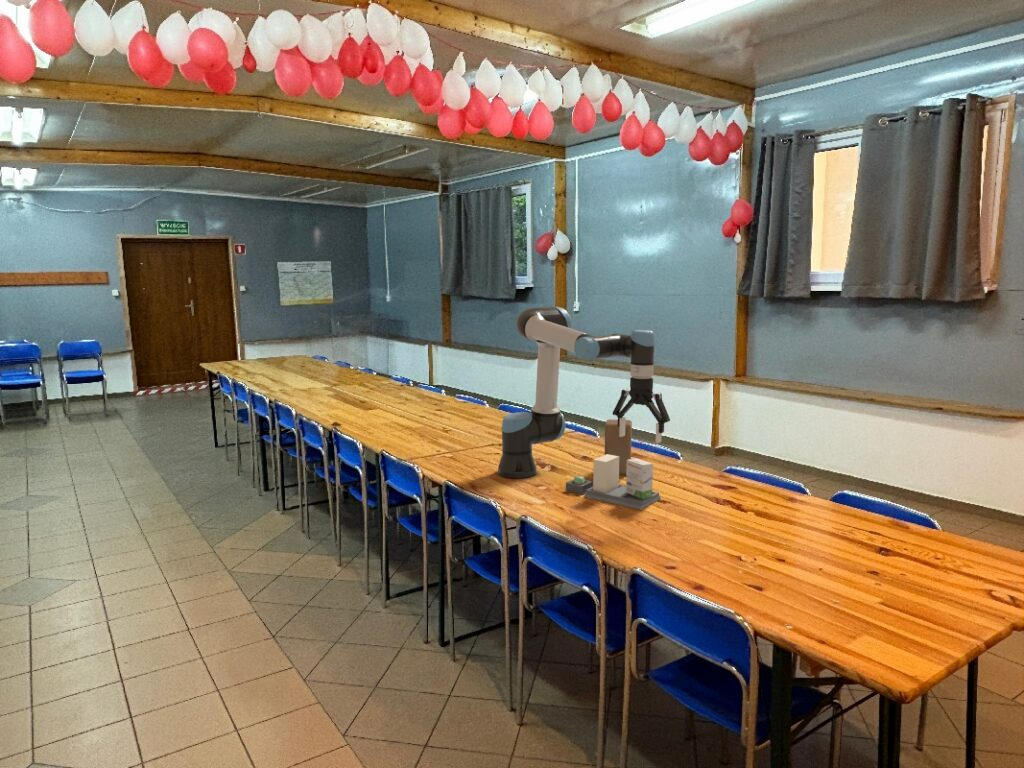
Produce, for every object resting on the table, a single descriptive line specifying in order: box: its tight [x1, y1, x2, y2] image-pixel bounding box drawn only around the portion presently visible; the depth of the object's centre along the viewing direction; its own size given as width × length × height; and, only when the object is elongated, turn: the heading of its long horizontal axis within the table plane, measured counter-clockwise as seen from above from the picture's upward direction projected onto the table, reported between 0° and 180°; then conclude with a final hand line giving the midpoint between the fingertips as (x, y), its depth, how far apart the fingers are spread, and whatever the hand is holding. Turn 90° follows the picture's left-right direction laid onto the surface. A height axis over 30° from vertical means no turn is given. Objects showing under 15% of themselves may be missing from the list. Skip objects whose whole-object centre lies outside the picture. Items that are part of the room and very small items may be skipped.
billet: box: [592, 454, 620, 493], centre depth 237 cm, size 5×9×12 cm, turn 141°
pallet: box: [584, 483, 661, 511], centre depth 234 cm, size 22×14×2 cm, turn 51°
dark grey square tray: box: [565, 479, 593, 495], centre depth 243 cm, size 7×7×3 cm
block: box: [604, 418, 633, 476], centre depth 264 cm, size 10×10×20 cm
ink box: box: [625, 458, 654, 499], centre depth 229 cm, size 8×5×12 cm, turn 31°
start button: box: [573, 475, 585, 485], centre depth 243 cm, size 4×4×4 cm
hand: (639, 439), depth 227 cm, fingers open, 13 cm apart
